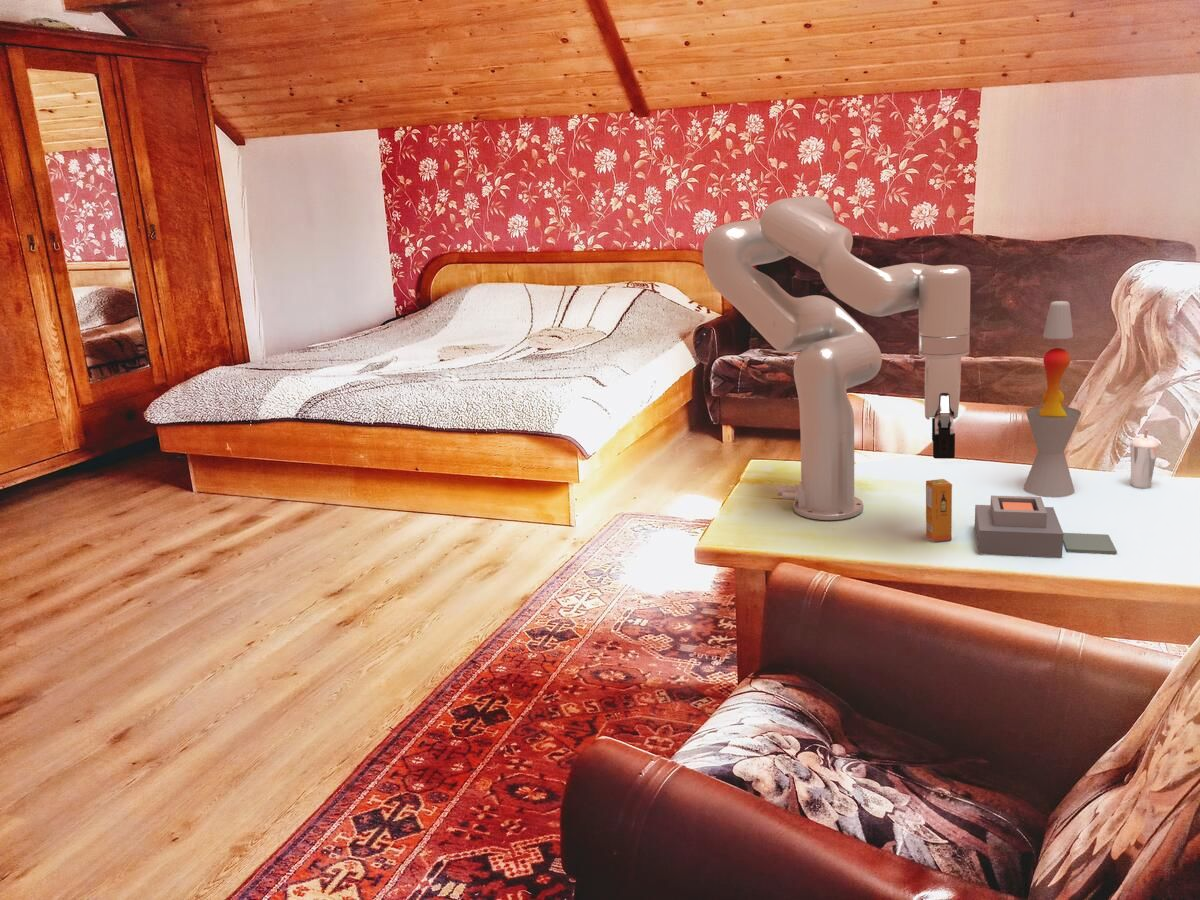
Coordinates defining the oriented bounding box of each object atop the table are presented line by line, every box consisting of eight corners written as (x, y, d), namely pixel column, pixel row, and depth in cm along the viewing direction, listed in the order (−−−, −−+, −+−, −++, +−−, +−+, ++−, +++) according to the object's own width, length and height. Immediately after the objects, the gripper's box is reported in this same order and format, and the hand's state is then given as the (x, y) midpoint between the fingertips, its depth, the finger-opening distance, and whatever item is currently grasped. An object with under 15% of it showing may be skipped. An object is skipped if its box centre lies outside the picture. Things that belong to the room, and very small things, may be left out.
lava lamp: (1079, 498, 168) (1093, 304, 158) (1024, 496, 171) (1035, 306, 161) (1071, 482, 176) (1084, 297, 167) (1019, 481, 179) (1029, 299, 169)
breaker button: (1003, 528, 150) (1004, 511, 149) (1001, 519, 154) (1001, 501, 153) (1033, 529, 148) (1034, 512, 147) (1030, 520, 152) (1031, 502, 151)
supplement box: (943, 533, 157) (945, 477, 154) (951, 541, 154) (953, 483, 151) (924, 535, 157) (925, 479, 154) (932, 542, 154) (933, 485, 151)
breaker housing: (978, 553, 148) (980, 515, 146) (974, 526, 159) (975, 490, 157) (1061, 557, 144) (1064, 518, 143) (1051, 529, 155) (1054, 493, 153)
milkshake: (1155, 481, 173) (1160, 430, 170) (1154, 490, 169) (1159, 437, 166) (1127, 479, 175) (1132, 428, 173) (1125, 487, 171) (1130, 435, 168)
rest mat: (1066, 551, 146) (1066, 549, 146) (1060, 535, 153) (1060, 532, 152) (1116, 554, 144) (1116, 551, 144) (1108, 537, 150) (1108, 534, 150)
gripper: (918, 337, 155) (918, 435, 160) (918, 356, 140) (918, 464, 144) (966, 335, 153) (965, 435, 157) (972, 354, 137) (970, 465, 142)
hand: (942, 449), depth 151 cm, fingers open, 9 cm apart
